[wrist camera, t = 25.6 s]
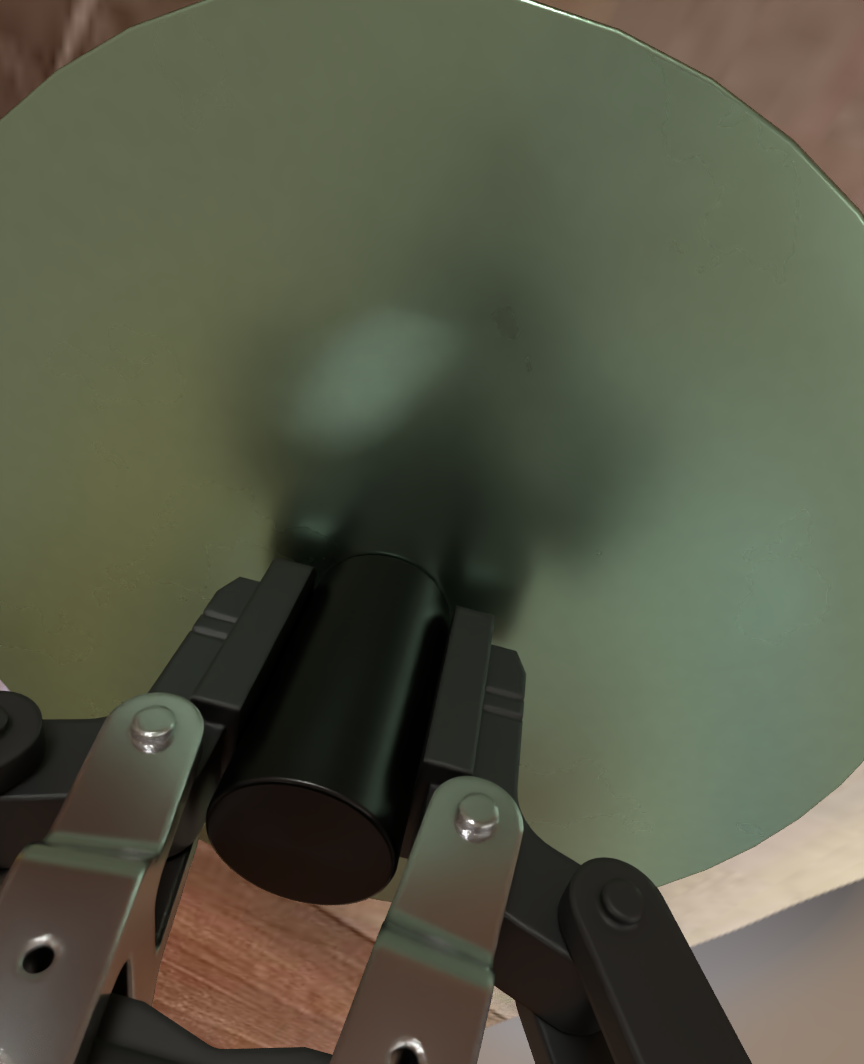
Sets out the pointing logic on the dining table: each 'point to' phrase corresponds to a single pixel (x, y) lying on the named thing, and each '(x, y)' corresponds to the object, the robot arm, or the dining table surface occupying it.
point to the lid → (439, 417)
